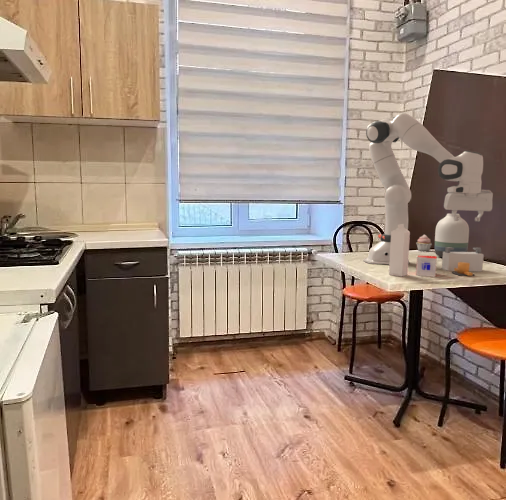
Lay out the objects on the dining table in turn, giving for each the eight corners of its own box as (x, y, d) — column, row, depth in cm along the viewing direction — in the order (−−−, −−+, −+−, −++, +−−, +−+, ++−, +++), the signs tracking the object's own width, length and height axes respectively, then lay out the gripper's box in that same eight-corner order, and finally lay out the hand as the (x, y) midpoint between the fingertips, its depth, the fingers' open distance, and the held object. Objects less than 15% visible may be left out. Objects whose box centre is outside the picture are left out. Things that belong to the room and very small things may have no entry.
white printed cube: (435, 273, 220) (436, 256, 219) (435, 276, 213) (436, 258, 212) (416, 272, 223) (417, 255, 222) (415, 275, 215) (416, 257, 214)
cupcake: (421, 249, 305) (422, 233, 304) (434, 251, 298) (436, 234, 296) (412, 250, 300) (413, 234, 299) (425, 252, 292) (426, 235, 291)
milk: (407, 274, 216) (410, 224, 213) (401, 276, 211) (405, 225, 208) (394, 273, 219) (397, 223, 216) (388, 274, 215) (391, 224, 212)
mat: (458, 275, 216) (458, 274, 216) (451, 272, 223) (451, 271, 222) (474, 275, 216) (474, 274, 216) (467, 273, 223) (467, 271, 223)
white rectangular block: (448, 270, 228) (449, 248, 226) (441, 268, 234) (443, 246, 233) (482, 271, 228) (484, 248, 227) (474, 268, 235) (476, 247, 234)
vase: (470, 260, 262) (473, 215, 259) (436, 259, 265) (439, 214, 261) (462, 256, 278) (466, 213, 275) (431, 255, 281) (434, 212, 278)
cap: (450, 270, 225) (451, 260, 225) (461, 270, 226) (461, 260, 225) (465, 275, 213) (466, 265, 212) (475, 275, 213) (476, 265, 213)
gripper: (489, 189, 218) (486, 221, 220) (443, 188, 217) (441, 219, 219) (497, 190, 212) (493, 222, 214) (450, 188, 211) (447, 220, 213)
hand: (466, 221), depth 216 cm, fingers open, 8 cm apart
